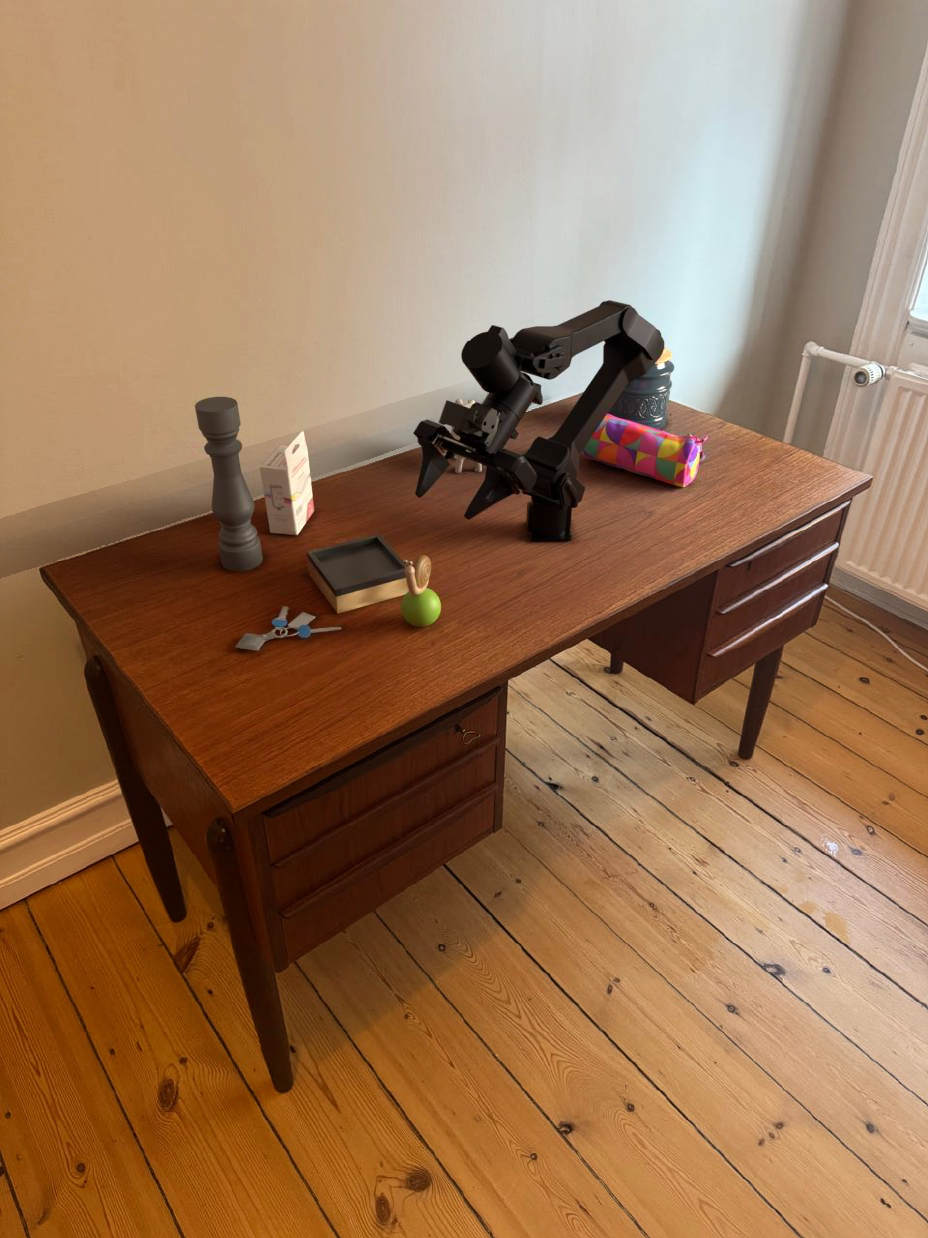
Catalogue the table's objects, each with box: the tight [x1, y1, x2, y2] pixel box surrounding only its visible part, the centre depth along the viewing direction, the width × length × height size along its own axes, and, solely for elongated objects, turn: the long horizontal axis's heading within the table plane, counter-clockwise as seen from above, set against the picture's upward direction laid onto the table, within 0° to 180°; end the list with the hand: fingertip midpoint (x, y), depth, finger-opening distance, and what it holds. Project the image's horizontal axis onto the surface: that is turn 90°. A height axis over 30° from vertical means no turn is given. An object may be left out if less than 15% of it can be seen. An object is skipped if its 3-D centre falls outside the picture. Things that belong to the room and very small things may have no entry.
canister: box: [607, 346, 675, 430], centre depth 174 cm, size 13×13×18 cm
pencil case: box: [581, 414, 709, 488], centre depth 157 cm, size 22×9×9 cm, turn 58°
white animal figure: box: [450, 398, 483, 474], centre depth 161 cm, size 5×13×11 cm, turn 8°
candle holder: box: [194, 396, 264, 572], centre depth 127 cm, size 6×6×25 cm
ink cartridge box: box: [258, 430, 315, 536], centre depth 140 cm, size 9×5×15 cm, turn 168°
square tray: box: [306, 533, 409, 614], centre depth 128 cm, size 12×12×4 cm
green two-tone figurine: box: [400, 554, 442, 628], centre depth 117 cm, size 5×6×12 cm
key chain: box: [235, 605, 342, 652], centre depth 119 cm, size 14×8×1 cm, turn 113°
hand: (441, 506), depth 119 cm, fingers open, 9 cm apart
